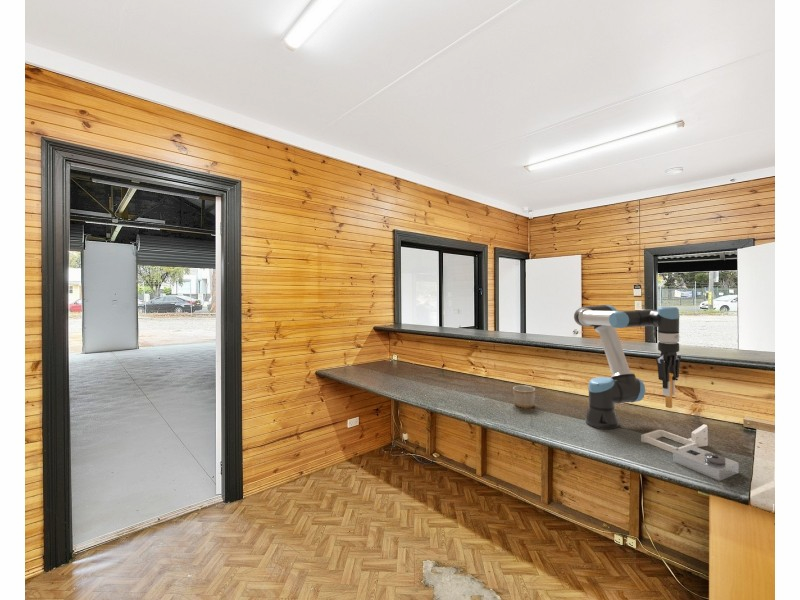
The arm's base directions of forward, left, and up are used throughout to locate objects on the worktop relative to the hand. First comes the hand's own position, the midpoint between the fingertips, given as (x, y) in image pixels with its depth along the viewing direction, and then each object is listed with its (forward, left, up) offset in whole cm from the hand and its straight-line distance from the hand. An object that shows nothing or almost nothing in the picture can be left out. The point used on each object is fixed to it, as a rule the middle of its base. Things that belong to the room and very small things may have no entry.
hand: (668, 394), depth 162 cm
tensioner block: (+18, -7, -23) cm, 30 cm away
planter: (-71, -20, -24) cm, 77 cm away
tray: (0, 0, -23) cm, 23 cm away
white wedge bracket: (+6, +10, -24) cm, 26 cm away
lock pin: (0, 0, -5) cm, 5 cm away
